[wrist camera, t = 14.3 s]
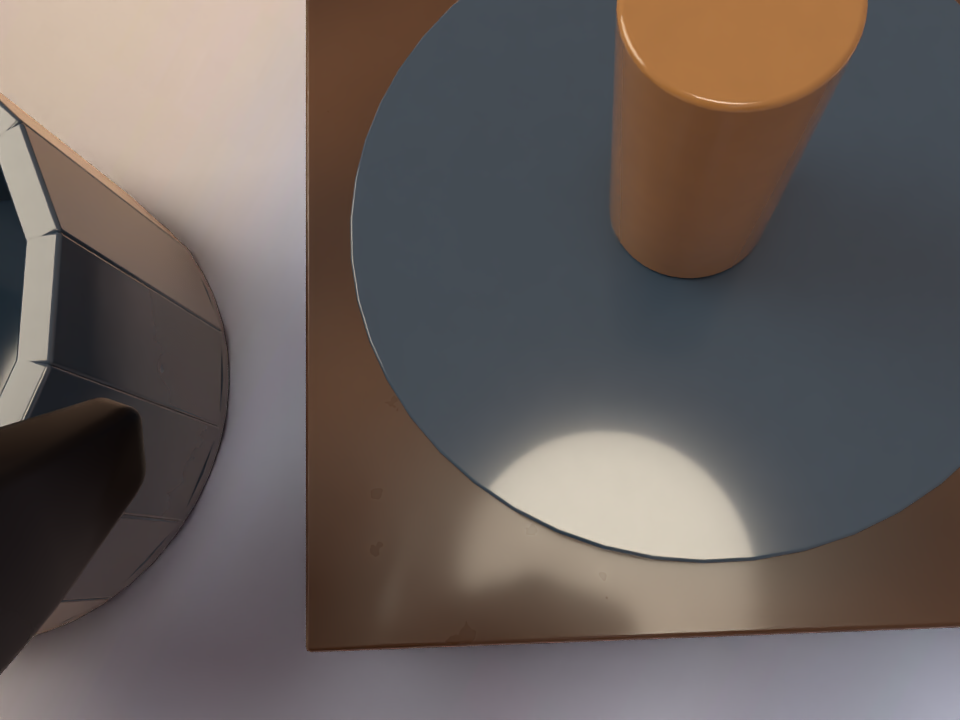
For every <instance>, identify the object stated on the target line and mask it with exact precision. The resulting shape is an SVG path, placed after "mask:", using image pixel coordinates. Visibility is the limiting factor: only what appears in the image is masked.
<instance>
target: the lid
mask: <svg viewBox="0 0 960 720" xmlns="http://www.w3.org/2000/svg"><path fill="white" fill-rule="evenodd" d="M350 253H351V266H352V273H353V279H354V286H355V292H356V298H357V303H358V307H359V310H360V313H361V317H362V320H363V323H364V327H365V330H366V333H367V337H368V340H369V343H370V345H371V347H372V349H373V352H374V354H375V356H376V358H377V360H378V363H379V365H380V367H381V369H382V371H383V373H384V376H385V378H386V380H387V382H388V383H389V385H390V387H391V388H392V390H393V391H394V393H395V394H396V396H397V398H398V399H399V401H400V402H401V404H402V406H403V407H404V409H405V410H406V412H407V413H408V415H409V417H410V418H411V419H412V421H413V422H414V423H415V424H416V425H417V426H418V428H419V429H420V430H421V431H422V432H423V434H424V435H425V436H426V437H427V438H428V439H429V441H430V442H431V443H432V444H433V445H434V447H435V448H436V449H437V450H438V451H439V453H441V454H442V455H443V456H444V457H445V458H446V459H447V460H448V461H449V462H451V463H452V464H453V465H454V466H455V467H456V468H457V469H458V470H459V471H460V472H462V473H463V474H464V475H465V476H466V477H467V478H468V479H469V480H470V481H472V482H473V483H474V484H475V485H477V486H478V487H479V488H481V489H482V490H484V491H485V492H487V493H488V494H490V495H491V496H493V497H494V498H495V499H497V500H498V501H500V502H501V503H503V504H504V505H506V506H507V507H509V508H510V509H511V510H513V511H514V512H516V513H518V514H520V515H522V516H524V517H526V518H528V519H530V520H532V521H534V522H536V523H538V524H540V525H542V526H544V527H546V528H548V529H550V530H552V531H553V532H555V533H557V534H560V535H563V536H566V537H569V538H572V539H574V540H577V541H580V542H583V543H586V544H589V545H591V546H594V547H597V548H600V549H603V550H607V551H612V552H617V553H621V554H626V555H631V556H636V557H640V558H645V559H650V560H660V561H673V562H686V563H698V564H705V563H724V562H743V561H757V560H762V559H767V558H773V557H778V556H783V555H789V554H794V553H799V552H805V551H808V550H811V549H814V548H817V547H820V546H823V545H826V544H829V543H832V542H835V541H838V540H841V539H844V538H847V537H850V536H853V535H855V534H857V533H860V532H862V531H864V530H866V529H868V528H870V527H872V526H874V525H876V524H878V523H880V522H882V521H884V520H886V519H888V518H890V517H892V516H894V515H896V514H898V513H900V512H902V511H903V510H904V509H906V508H907V507H909V506H910V505H912V504H913V503H915V502H916V501H918V500H919V499H921V498H922V497H924V496H925V495H927V494H928V493H930V492H931V491H932V490H934V489H935V488H937V487H938V486H940V485H941V484H942V483H943V482H945V481H946V480H947V479H948V478H949V477H950V476H951V475H952V474H953V473H954V472H956V471H957V470H958V469H959V468H960V4H959V3H958V2H957V1H956V0H458V1H457V2H456V3H455V4H453V5H452V6H451V7H450V8H449V9H448V10H447V11H446V12H445V13H444V14H443V15H442V16H441V17H440V19H439V20H438V21H437V22H436V23H435V24H434V25H433V26H432V27H431V28H430V29H429V30H428V31H427V32H426V33H425V34H424V36H423V37H422V38H421V39H420V41H419V42H418V44H417V45H416V46H415V48H414V49H413V50H412V52H411V53H410V54H409V56H408V57H407V59H406V60H405V61H404V63H403V64H402V65H401V67H400V68H399V70H398V72H397V73H396V75H395V77H394V79H393V80H392V82H391V84H390V86H389V88H388V89H387V91H386V93H385V95H384V97H383V98H382V100H381V102H380V104H379V106H378V109H377V111H376V114H375V116H374V119H373V121H372V124H371V126H370V129H369V131H368V134H367V136H366V139H365V142H364V146H363V149H362V153H361V157H360V161H359V165H358V169H357V173H356V177H355V182H354V190H353V198H352V207H351V215H350Z"/></svg>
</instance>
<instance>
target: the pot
mask: <svg viewBox="0 0 960 720" xmlns="http://www.w3.org/2000/svg"><path fill="white" fill-rule="evenodd" d="M228 388H229V371H228V351H227V345H226V340H225V334H224V328H223V323H222V320H221V317H220V314H219V310H218V307H217V304H216V301H215V298H214V295H213V293H212V291H211V289H210V287H209V285H208V283H207V281H206V279H205V277H204V275H203V273H202V271H201V269H200V268H199V266H198V265H197V264H196V262H195V261H194V259H193V257H192V255H191V253H190V252H189V250H188V248H187V247H186V246H184V245H183V244H182V243H181V242H180V241H179V240H178V239H177V238H176V237H175V236H174V235H173V234H172V233H171V232H170V231H169V230H168V229H167V228H166V227H165V226H163V225H162V224H161V223H160V222H158V221H157V220H156V219H155V218H154V217H153V216H152V215H151V214H150V213H149V212H148V211H147V210H145V209H144V208H143V207H142V206H141V205H140V204H139V203H138V202H137V201H136V200H135V199H134V198H133V197H131V196H130V195H129V194H128V193H126V192H125V191H124V190H122V189H121V188H120V187H119V186H117V185H116V184H115V183H114V182H112V181H111V180H110V179H109V178H107V177H106V176H105V175H104V174H102V173H101V172H100V171H99V170H97V169H96V168H95V167H94V166H92V165H91V164H90V163H88V162H87V161H86V160H85V159H83V158H82V157H81V156H80V155H78V154H77V153H76V152H75V151H73V150H72V149H71V148H70V147H68V146H67V145H66V144H65V143H63V142H62V141H61V140H60V139H58V138H57V137H56V136H55V135H53V134H52V133H51V132H49V131H48V130H47V129H46V128H44V127H43V126H42V125H41V124H39V123H38V122H37V121H36V120H34V119H33V118H32V117H31V116H29V115H28V114H27V113H26V112H24V111H23V110H22V109H21V108H19V107H18V106H17V105H15V104H14V103H13V102H12V101H10V100H9V99H8V98H7V97H5V96H4V95H3V94H2V93H0V427H2V426H5V425H9V424H12V423H15V422H19V421H22V420H25V419H28V418H32V417H35V416H38V415H42V414H45V413H48V412H51V411H55V410H58V409H61V408H64V407H68V406H71V405H74V404H78V403H81V402H84V401H87V400H91V399H95V398H108V399H110V400H113V401H116V402H119V403H122V404H125V405H128V406H130V407H133V408H134V409H136V410H137V411H138V413H139V415H140V416H141V420H142V430H143V440H144V451H145V462H146V471H145V477H144V480H143V483H142V485H141V487H140V489H139V491H138V493H137V494H136V496H135V497H134V499H133V500H132V501H131V503H130V504H129V506H128V507H127V509H126V510H125V511H124V513H123V514H122V516H121V517H120V519H119V520H118V522H117V523H116V524H115V526H114V527H113V529H112V530H111V532H110V533H109V535H108V536H107V537H106V539H105V540H104V542H103V543H102V545H101V546H100V547H99V549H98V550H97V552H96V553H95V555H94V556H93V558H92V559H91V560H90V562H89V563H88V565H87V566H86V568H85V569H84V571H83V572H82V573H81V575H80V576H79V578H78V579H77V581H76V582H75V583H74V585H73V586H72V588H71V589H70V591H69V592H68V593H67V595H66V596H65V597H64V599H63V600H62V601H61V603H60V604H59V605H58V607H57V608H56V609H55V611H54V612H53V613H52V614H51V616H50V617H49V618H48V619H47V620H46V622H45V623H44V624H43V625H42V627H41V628H40V629H39V630H38V631H37V632H36V634H35V635H38V634H41V633H45V632H48V631H50V630H53V629H55V628H58V627H60V626H62V625H65V624H67V623H70V622H72V621H75V620H77V619H78V618H80V617H82V616H84V615H85V614H87V613H89V612H91V611H92V610H94V609H96V608H98V607H99V606H101V605H103V604H104V603H106V602H107V601H108V600H110V599H111V598H112V597H114V596H115V595H116V594H118V593H119V592H120V591H122V590H123V589H124V588H126V587H127V586H128V585H130V584H131V583H132V582H133V581H134V580H135V579H136V578H137V577H138V576H139V575H140V574H141V573H142V572H143V571H144V570H146V569H147V568H148V567H149V566H150V565H151V564H152V563H153V562H154V561H155V560H156V559H157V557H158V556H159V555H160V554H161V552H162V551H163V550H164V549H165V548H166V546H167V545H168V544H169V543H170V541H171V540H172V539H173V538H174V537H175V535H176V534H177V533H178V531H179V529H180V528H181V526H182V525H183V523H184V522H185V520H186V518H187V517H188V515H189V514H190V512H191V511H192V509H193V507H194V506H195V504H196V502H197V500H198V498H199V496H200V494H201V491H202V489H203V487H204V485H205V483H206V481H207V479H208V477H209V475H210V472H211V469H212V466H213V463H214V460H215V457H216V454H217V451H218V448H219V445H220V441H221V436H222V432H223V427H224V422H225V418H226V412H227V400H228ZM35 635H34V636H35Z"/></svg>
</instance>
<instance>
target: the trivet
mask: <svg viewBox="0 0 960 720" xmlns="http://www.w3.org/2000/svg"><path fill="white" fill-rule="evenodd" d="M457 1H458V0H306V649H307V651H309V652H333V651H359V650H385V649H411V648H437V647H463V646H489V645H515V644H541V643H567V642H593V641H619V640H645V639H671V638H697V637H723V636H748V635H774V634H800V633H826V632H852V631H878V630H904V629H930V628H956V627H960V468H959V469H958V470H957V471H956V472H954V473H953V474H952V475H951V476H950V477H949V478H948V479H947V480H946V481H945V482H943V483H942V484H941V485H940V486H938V487H937V488H935V489H934V490H932V491H931V492H930V493H928V494H927V495H925V496H924V497H922V498H921V499H919V500H918V501H916V502H915V503H913V504H912V505H910V506H909V507H907V508H906V509H904V510H903V511H902V512H900V513H898V514H896V515H894V516H892V517H890V518H888V519H886V520H884V521H882V522H880V523H878V524H876V525H874V526H872V527H870V528H868V529H866V530H864V531H862V532H860V533H857V534H855V535H853V536H850V537H847V538H844V539H841V540H838V541H835V542H832V543H829V544H826V545H823V546H820V547H817V548H814V549H811V550H808V551H805V552H799V553H794V554H789V555H783V556H778V557H773V558H767V559H762V560H757V561H743V562H724V563H705V564H698V563H686V562H673V561H660V560H650V559H645V558H640V557H636V556H631V555H626V554H621V553H617V552H612V551H607V550H603V549H600V548H597V547H594V546H591V545H589V544H586V543H583V542H580V541H577V540H574V539H572V538H569V537H566V536H563V535H560V534H557V533H555V532H553V531H552V530H550V529H548V528H546V527H544V526H542V525H540V524H538V523H536V522H534V521H532V520H530V519H528V518H526V517H524V516H522V515H520V514H518V513H516V512H514V511H513V510H511V509H510V508H509V507H507V506H506V505H504V504H503V503H501V502H500V501H498V500H497V499H495V498H494V497H493V496H491V495H490V494H488V493H487V492H485V491H484V490H482V489H481V488H479V487H478V486H477V485H475V484H474V483H473V482H472V481H470V480H469V479H468V478H467V477H466V476H465V475H464V474H463V473H462V472H460V471H459V470H458V469H457V468H456V467H455V466H454V465H453V464H452V463H451V462H449V461H448V460H447V459H446V458H445V457H444V456H443V455H442V454H441V453H439V451H438V450H437V449H436V448H435V447H434V445H433V444H432V443H431V442H430V441H429V439H428V438H427V437H426V436H425V435H424V434H423V432H422V431H421V430H420V429H419V428H418V426H417V425H416V424H415V423H414V422H413V421H412V419H411V418H410V417H409V415H408V413H407V412H406V410H405V409H404V407H403V406H402V404H401V402H400V401H399V399H398V398H397V396H396V394H395V393H394V391H393V390H392V388H391V387H390V385H389V383H388V382H387V380H386V378H385V376H384V373H383V371H382V369H381V367H380V365H379V363H378V360H377V358H376V356H375V354H374V352H373V349H372V347H371V345H370V343H369V340H368V337H367V333H366V330H365V327H364V323H363V320H362V317H361V313H360V310H359V307H358V303H357V298H356V292H355V286H354V279H353V273H352V266H351V253H350V215H351V207H352V198H353V190H354V182H355V177H356V173H357V169H358V165H359V161H360V157H361V153H362V149H363V146H364V142H365V139H366V136H367V134H368V131H369V129H370V126H371V124H372V121H373V119H374V116H375V114H376V111H377V109H378V106H379V104H380V102H381V100H382V98H383V97H384V95H385V93H386V91H387V89H388V88H389V86H390V84H391V82H392V80H393V79H394V77H395V75H396V73H397V72H398V70H399V68H400V67H401V65H402V64H403V63H404V61H405V60H406V59H407V57H408V56H409V54H410V53H411V52H412V50H413V49H414V48H415V46H416V45H417V44H418V42H419V41H420V39H421V38H422V37H423V36H424V34H425V33H426V32H427V31H428V30H429V29H430V28H431V27H432V26H433V25H434V24H435V23H436V22H437V21H438V20H439V19H440V17H441V16H442V15H443V14H444V13H445V12H446V11H447V10H448V9H449V8H450V7H451V6H452V5H453V4H455V3H456V2H457ZM956 1H957V2H958V3H959V4H960V0H956Z"/></svg>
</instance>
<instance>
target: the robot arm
mask: <svg viewBox="0 0 960 720" xmlns="http://www.w3.org/2000/svg"><path fill="white" fill-rule="evenodd" d="M145 471H146V462H145V451H144V440H143V430H142V420H141V416H140V415H139V413H138V411H137V410H136V409H134V408H133V407H130V406H128V405H125V404H122V403H119V402H116V401H113V400H110V399H108V398H95V399H91V400H87V401H84V402H81V403H78V404H74V405H71V406H68V407H64V408H61V409H58V410H55V411H51V412H48V413H45V414H42V415H38V416H35V417H32V418H28V419H25V420H22V421H19V422H15V423H12V424H9V425H5V426H2V427H0V675H1V673H2V672H3V671H4V670H5V669H6V668H7V666H8V665H9V664H10V663H11V662H12V660H13V659H14V658H15V657H16V656H17V655H18V653H19V652H20V651H21V650H22V649H23V648H24V646H25V645H26V644H27V643H28V642H29V641H30V639H31V638H32V637H33V636H34V635H35V634H36V632H37V631H38V630H39V629H40V628H41V627H42V625H43V624H44V623H45V622H46V620H47V619H48V618H49V617H50V616H51V614H52V613H53V612H54V611H55V609H56V608H57V607H58V605H59V604H60V603H61V601H62V600H63V599H64V597H65V596H66V595H67V593H68V592H69V591H70V589H71V588H72V586H73V585H74V583H75V582H76V581H77V579H78V578H79V576H80V575H81V573H82V572H83V571H84V569H85V568H86V566H87V565H88V563H89V562H90V560H91V559H92V558H93V556H94V555H95V553H96V552H97V550H98V549H99V547H100V546H101V545H102V543H103V542H104V540H105V539H106V537H107V536H108V535H109V533H110V532H111V530H112V529H113V527H114V526H115V524H116V523H117V522H118V520H119V519H120V517H121V516H122V514H123V513H124V511H125V510H126V509H127V507H128V506H129V504H130V503H131V501H132V500H133V499H134V497H135V496H136V494H137V493H138V491H139V489H140V487H141V485H142V483H143V480H144V477H145Z"/></svg>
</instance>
